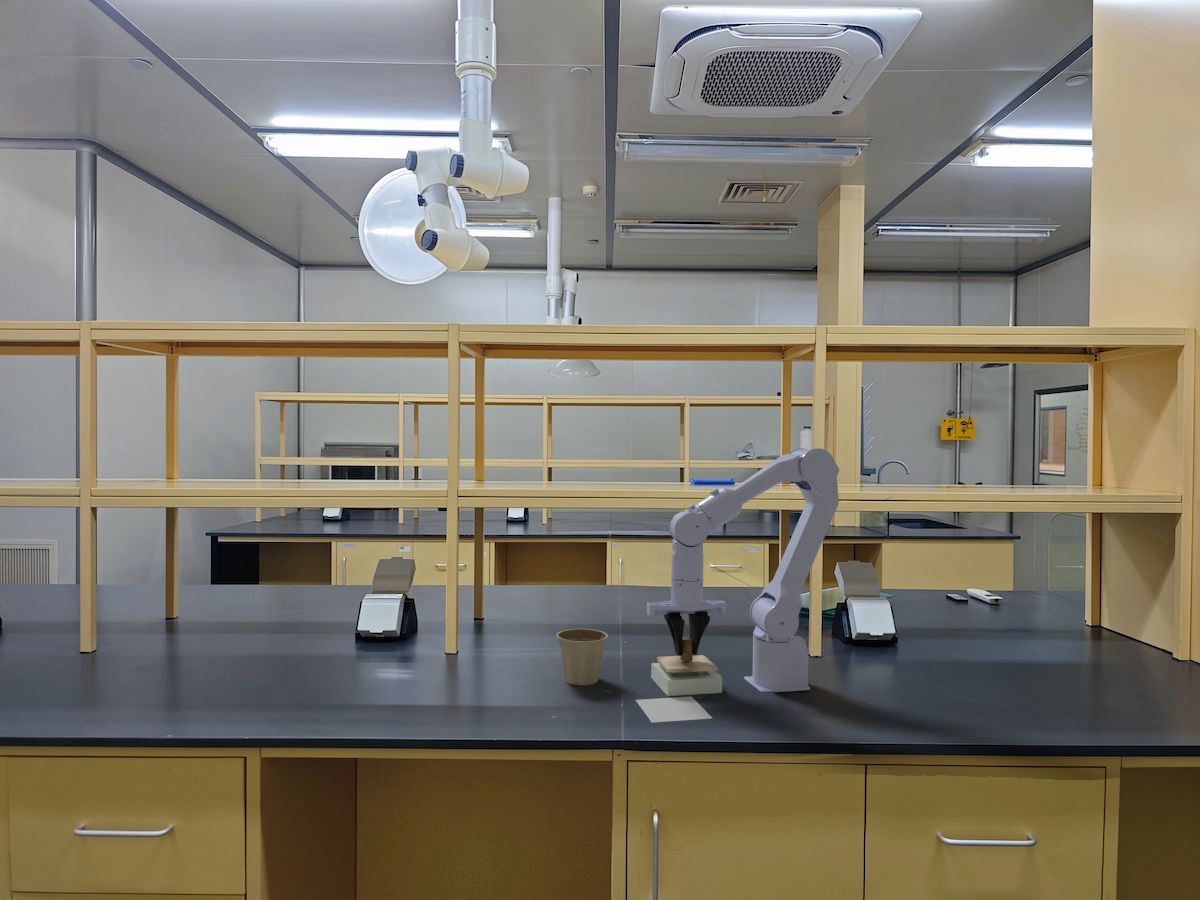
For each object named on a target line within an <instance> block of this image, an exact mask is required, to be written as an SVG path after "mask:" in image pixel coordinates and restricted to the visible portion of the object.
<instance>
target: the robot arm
mask: <svg viewBox="0 0 1200 900" xmlns="http://www.w3.org/2000/svg"><path fill="white" fill-rule="evenodd" d="M839 472H840V468H839V466H838V464H837V463H836V461H835V459H834V457H833V455H832V454H831V453H830V452H829V451H828V450H826V449H823V448H820V447H819V448H810V449H809V448H801V447H800V448H794V449H792V450H790V451H789V452H788V453H787V454H783V455H780V456H779V457H777V458H775V460H772V461H771V462H770V463H768V464H767V465H765V466H763V468H761V469H760V470H758V471H757V472H755V473H754V474H752V475H751V476H750V477H748V478H747V479H745V480H743V481H742V482H741V483H740V484H738V485H737V486H735V487H734V488H732V489H729V488H726V487H721V488H719V489H718V488H712V490H710V491H709V494H710V495H708V496H707V497H705V498H704V499H702V500H701V501H699V502H698V503H696V504H695V503H691V504H689V505H688V507H687V508H688V510H689V511H687V510H686V511H683V510H682V511H680V512H677V513H676V514H675V515H674V516H673V517H672V520H671V521H670V524H669V526H668V531H669V534H670V536H671V537H672V538H673V539H672V544H671V547H672V548H671V549H672V552H671V574H670V575H671V579H670V581H671V583H670V584H671V585H670V600H665V601H657V602H655V601H654V602H647V603H646V614H647V616H649V617H654V616H657V615H658V616H661V615H663V617H664V620H665V621H666V623H667V626H668V629H669V631H670V634H671V637H672V642H673V647H674V653H675V654H676V656H682V653H683V638H684V629H685V628H684V627H685V623H686V621H685V619H683V615H688V623H689V638H690V639H692V640H693V656H697V655H698V651H699V646H700V642H701V641H702V637H703V635H704V633H705V631H706V629H707V627H708V626H709V623H710V620H711V619H710V618H711V617H710V615H709V614H713V613H715V614H716V613H718V614H719V613H720V614H727V602H725V601H724V600H707V599H704V542H705V541H706V539H707V537H708V535H709V533H713V532H714V531H716V530H717V529H718V528H721V527H722V526H724V525H725V524H727V523H729V522H730V521H731V520H733V519H735V518H736V517H738V516H739V515H741V512H742V508H743V505H744V504H745V503H747V502H748V501H750V500H752V499H754V498H756V497H758V496H759V495H761V494H763V493H765V492H766V491H769V490H770V489H771V488H773V487H775V486H777V485H778V484H780V483H794V484H795V485H796V487H798V488H799V490H800V492H801V494H802V497H803V498H804V501H805V505H804V508H803V510H802V512H801V514H800V517H799V520H798V522H797V524H796V526H795V529H794V531H793V533H792V535H791V538H790V539H789V541H788V544H787V546H786V549H785V551H784V553H783V555H782V558H781V560H780V562H779V565H778V567H777V570H776V571H775V574H774V576H773V579H772V580H771V581H770V582H769V583H767V584H766V585H765V586H764V587H763V589H762V591H761V594H759V596H757V598H755V599H754V600H753V601H752V603H751V604H750V608H749V617H750V620H751V621H752V623H753V624H754V625H755V627H754V630H753V632H752V675H748V676H747V675H746V676H744V677H743V679H744V680H745V681H746V682H747V683H749V684H750V685H752V686H753V687H754V688H755V689H756V690H758V691H760V693H782V692H783V693H784V692H785V693H786V692H787V693H788V692H798V691H799V692H801V691H811V686H809V650H808V646H807V643H806V641H805V639H804V638H803V637H802V636H800V635H796V633H797V632H798V630H799V629H798V628H799V625H800V621H799V615H800V611H801V609H802V606H803V605H802V596H801V591H802V589H803V587H804V585H805V583H806V580H807V578H808V575H809V573H810V571H811V569H812V567H813V564H814V563H815V559H816V558H817V555H818V553H819V550H820V548H821V545H822V543H823V541H824V539H825V537H826V534H827V532H828V531H829V527H830V525H831V523H832V520H833V518H834V516H835V513H836V511H837V510H838V507H839V503H840V501H839V499H840V498H839V487H838V475H839Z"/></svg>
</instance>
